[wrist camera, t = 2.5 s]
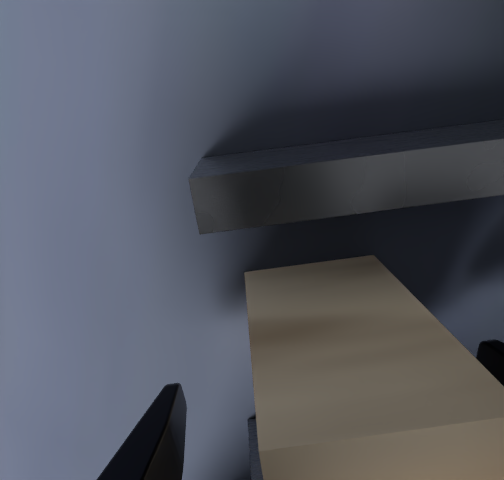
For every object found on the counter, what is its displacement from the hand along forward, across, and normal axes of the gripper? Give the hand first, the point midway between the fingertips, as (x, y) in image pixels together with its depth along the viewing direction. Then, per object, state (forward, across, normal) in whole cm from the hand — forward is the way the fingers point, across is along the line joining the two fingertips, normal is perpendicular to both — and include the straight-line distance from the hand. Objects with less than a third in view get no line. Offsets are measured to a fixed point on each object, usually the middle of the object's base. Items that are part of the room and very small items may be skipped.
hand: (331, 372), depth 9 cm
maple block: (+3, 0, 0) cm, 3 cm away
